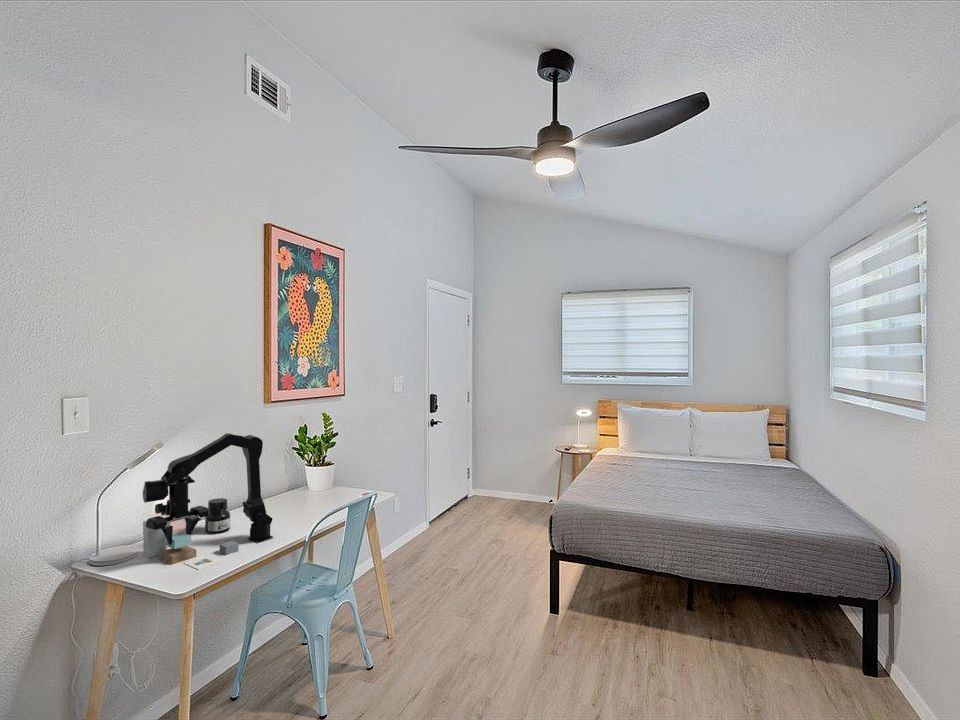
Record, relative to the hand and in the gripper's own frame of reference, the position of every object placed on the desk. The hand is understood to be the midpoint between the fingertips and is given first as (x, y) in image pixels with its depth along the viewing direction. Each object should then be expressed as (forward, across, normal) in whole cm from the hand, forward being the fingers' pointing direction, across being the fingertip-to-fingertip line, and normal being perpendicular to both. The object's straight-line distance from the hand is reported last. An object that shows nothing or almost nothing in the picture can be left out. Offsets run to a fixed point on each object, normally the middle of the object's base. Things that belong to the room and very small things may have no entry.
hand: (178, 541), depth 180 cm
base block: (+6, 0, 0) cm, 6 cm away
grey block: (+6, -13, +9) cm, 17 cm away
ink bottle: (+6, -23, -15) cm, 28 cm away
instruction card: (+6, -2, +11) cm, 12 cm away
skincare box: (+6, +3, -10) cm, 12 cm away
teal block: (+1, 0, 0) cm, 1 cm away
